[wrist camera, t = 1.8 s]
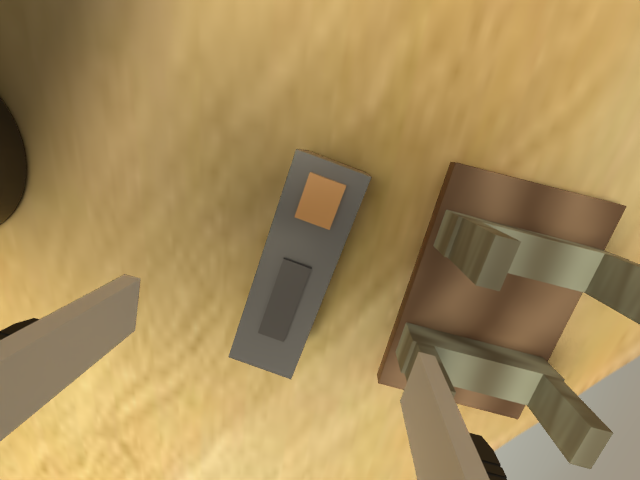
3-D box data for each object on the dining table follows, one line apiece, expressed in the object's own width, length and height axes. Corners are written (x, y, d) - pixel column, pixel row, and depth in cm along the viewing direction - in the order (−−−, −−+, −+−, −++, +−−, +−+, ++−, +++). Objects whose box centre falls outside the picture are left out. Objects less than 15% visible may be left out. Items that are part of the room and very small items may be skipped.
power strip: (250, 318, 30) (226, 361, 24) (306, 150, 26) (295, 148, 20) (301, 336, 30) (289, 383, 24) (365, 171, 26) (372, 177, 20)
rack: (377, 374, 30) (390, 462, 22) (450, 162, 25) (507, 166, 16) (511, 409, 30) (578, 510, 22) (613, 203, 25) (755, 230, 16)
